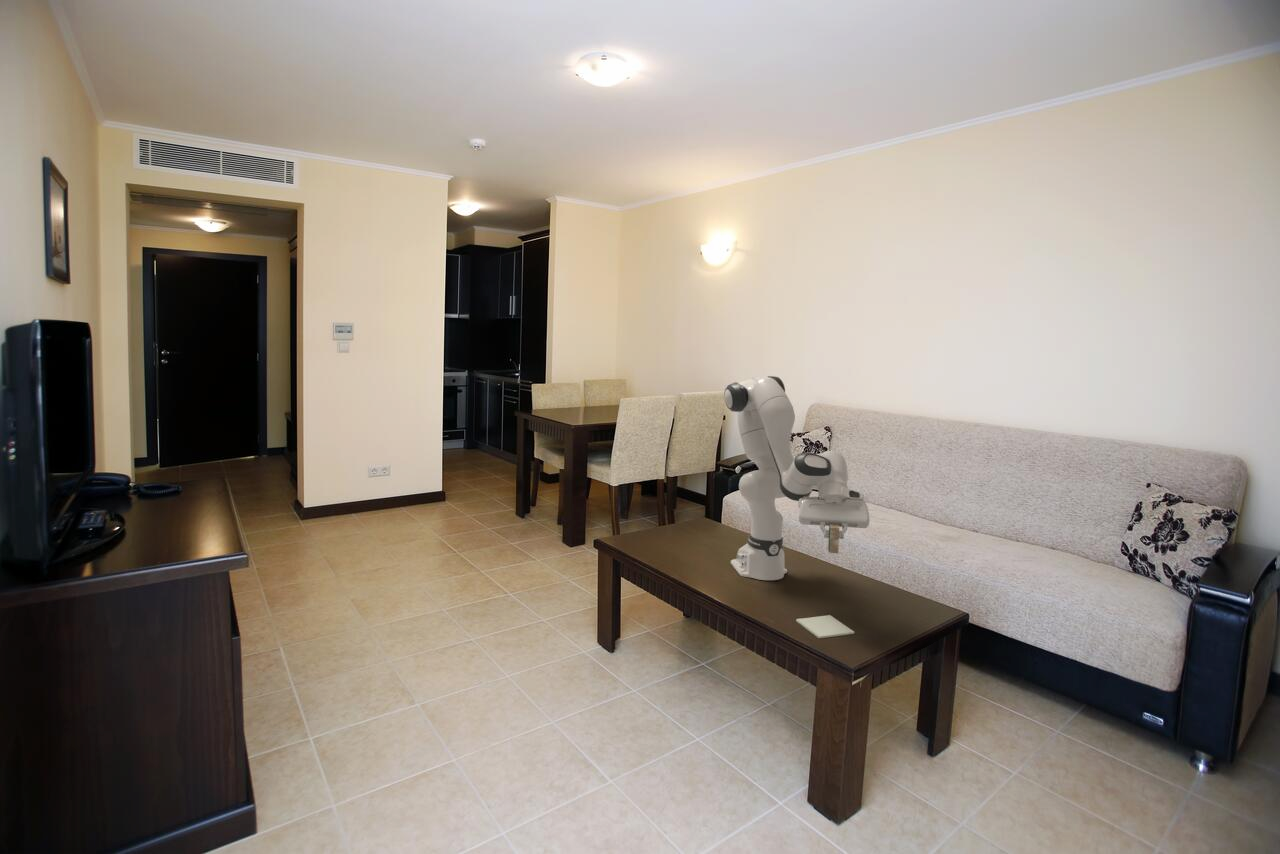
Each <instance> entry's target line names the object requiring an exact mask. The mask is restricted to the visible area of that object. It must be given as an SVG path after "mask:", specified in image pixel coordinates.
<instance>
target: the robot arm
mask: <svg viewBox="0 0 1280 854" xmlns="http://www.w3.org/2000/svg"><path fill="white" fill-rule="evenodd" d="M723 394H724V403H725V406H726V407H727V409H728V410H730V412H733V413H735V412H736V413H737V424H738V429H739V430H738V431H739V435H740V438H741V443H742V446H743V450H744V454H745V456H746V458H747V459H748V460H750V461H751V462H752V463H754V464H755V465H756V467H757V468H758V469H757V470H753V471H750V472H747V473H744V474H743V475H742V476H741V477H740V479H739V481H738V482H739V483H738V489H739V490H738V491H739V493H740V495H741V496H742V497H743V498H744V499H745V500H746V502H747V503H748V506H749V509H750V514H751V516H750V517H751V524H750V525H751V526H750V533H748V534H747V537H748V539H747V543H746V544H744V545H743V546H742V547H740V548H739V549H738V551H737V553H736V558H734V559H731V560H730V564H731V565H732V567H733V568H734V570H736V572H737V573H738V575H740V576H741V577H745V578H752V579H756V580H761V581H776V580H777V581H778V580H781V579H783V578H784V576H785V574H787V572H788V570H787V568H785V567H786V566H785V550H783V544H784V537H783V524H784V523H783V522H784V517H783V515H782V514H781V512H780V511H778V510H777V508H776V504H775V500H776V499H782V498H788V499H789V500H791V501H795V502H797V503H798V504H797V505H798V508H799V512H798V513H799V516H798V522H799V523H800V524H801V525H804V526H805V525H807V526H808V525H809V526H819V530H821V531H822V533H823V538H827V539H829V529H827V528H826V527H829V525H839V528H842V530H839V540H842V539H843V540H844V539H845V533H846V532H847V531H848V528H854V529H856V528H857V529H866V528H868V527H869V525H870V512H869V508H868V507H869V506H868V505H867V503H866V501H865V496H864V493H863V492H860V491H856V490H854V489H850V488H849V487H848V485H847V483H848V480H849V476H848V474H849V473H848V466H847V462H846V459H845V457H844V455H842V454H841V453H840V452H837V451H835V450H826V451H823V452H822V453H812V452H807V451H806V452H801V453H799V454H796V456H795V457H794V456H793V453H792V451H791V445H790V444H791V443H790V442H791V437H792V431H793V428H794V423H795V419H796V415H795V411H794V410H795V409H794V407H793V406H794V405H792V402H791V400H790V399H789V397H788V395H787V393H786V388H785V384H784V382H783V381H782V379H781V378H780V377H778V376H774V375H770V376H769V375H768V376H765V377H763V376H762V377H753V378H750V379H746V380H742V381H738V382H736V381H735V382H732V383H730V384H728V385H727V386H726V388H725V389H724V393H723ZM815 487H817V489H818V496H811V493H812V491H813V489H814V488H815Z"/></svg>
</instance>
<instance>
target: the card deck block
mask: <svg viewBox="0 0 1280 854" xmlns="http://www.w3.org/2000/svg"><path fill="white" fill-rule="evenodd" d="M828 530H829V538H828V545H827V546H828V547H827V549H828V553H830V554H839V549H840V547H839V546H840V545H839V544H840V539H839V531H840V527H839V525H829V526H828Z"/></svg>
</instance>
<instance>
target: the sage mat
mask: <svg viewBox="0 0 1280 854" xmlns="http://www.w3.org/2000/svg"><path fill="white" fill-rule="evenodd" d="M795 621H796V622H797V623H798V624H799V625H801V626H802V627H803V628H804V629H806V630H807V631H809V633H811V634H812V635H814V636H815V637H816V638H818V639H825V638H833V637H840V636H848V635H854V634H855V631H854V630H853V629H850V628H849V627H848V626H846V625H845V624H844V623H842V622H841V621H839V620H838V619H836V618H835V617H833V615H830V614H828V615H820V616H819V615H818V616H813V617H805V618H797V619H795Z"/></svg>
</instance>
